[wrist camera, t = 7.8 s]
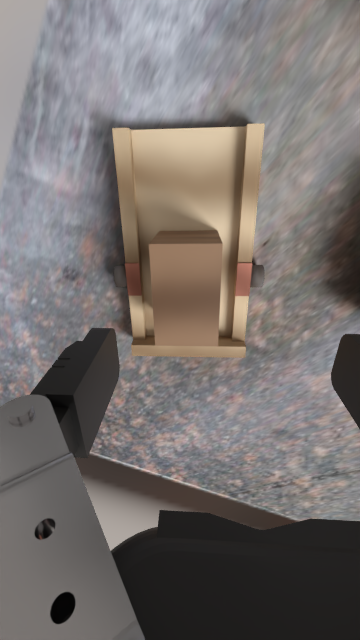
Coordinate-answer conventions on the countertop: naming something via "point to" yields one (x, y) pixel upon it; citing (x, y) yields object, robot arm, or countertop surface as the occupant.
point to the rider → (186, 287)
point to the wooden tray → (189, 219)
